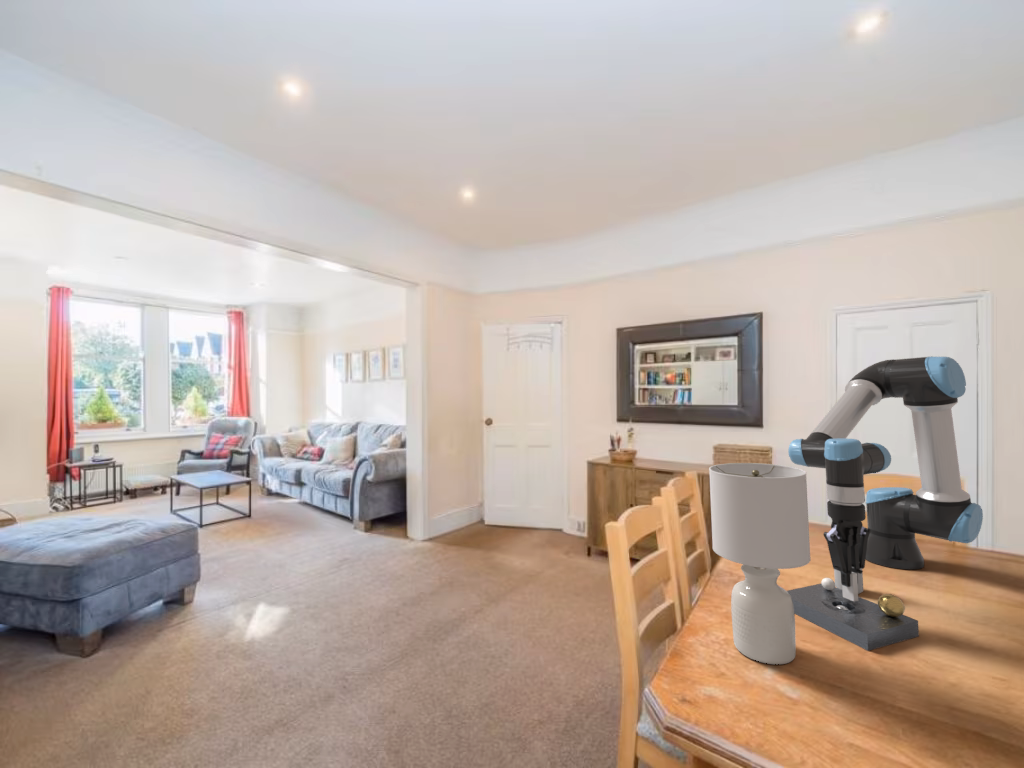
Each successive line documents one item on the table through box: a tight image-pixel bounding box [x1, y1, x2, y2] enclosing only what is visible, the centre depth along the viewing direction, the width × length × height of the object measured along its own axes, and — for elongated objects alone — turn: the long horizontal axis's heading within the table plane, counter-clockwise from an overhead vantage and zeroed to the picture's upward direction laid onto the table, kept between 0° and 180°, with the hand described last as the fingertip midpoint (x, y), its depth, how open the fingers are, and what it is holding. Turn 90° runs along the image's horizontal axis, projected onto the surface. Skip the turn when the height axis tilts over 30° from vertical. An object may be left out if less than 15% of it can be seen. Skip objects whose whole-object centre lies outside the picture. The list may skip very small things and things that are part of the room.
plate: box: [786, 583, 920, 652], centre depth 110 cm, size 16×22×4 cm
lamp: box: [708, 462, 811, 666], centre depth 99 cm, size 19×19×39 cm
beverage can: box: [833, 562, 864, 595], centre depth 125 cm, size 6×6×12 cm
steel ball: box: [836, 605, 849, 610], centre depth 110 cm, size 4×4×4 cm
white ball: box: [820, 577, 836, 590], centre depth 118 cm, size 3×3×3 cm
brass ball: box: [877, 593, 906, 617], centre depth 104 cm, size 5×5×5 cm
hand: (850, 598), depth 111 cm, fingers closed
